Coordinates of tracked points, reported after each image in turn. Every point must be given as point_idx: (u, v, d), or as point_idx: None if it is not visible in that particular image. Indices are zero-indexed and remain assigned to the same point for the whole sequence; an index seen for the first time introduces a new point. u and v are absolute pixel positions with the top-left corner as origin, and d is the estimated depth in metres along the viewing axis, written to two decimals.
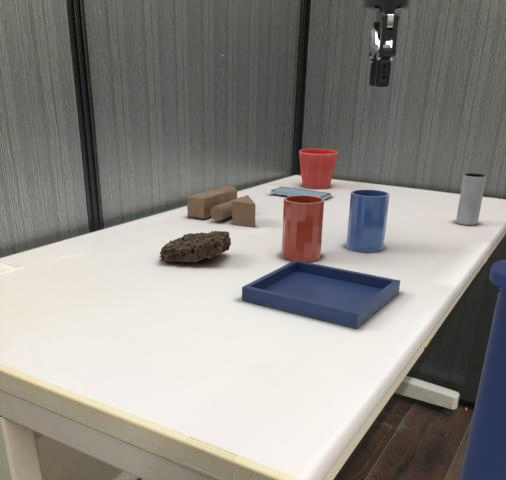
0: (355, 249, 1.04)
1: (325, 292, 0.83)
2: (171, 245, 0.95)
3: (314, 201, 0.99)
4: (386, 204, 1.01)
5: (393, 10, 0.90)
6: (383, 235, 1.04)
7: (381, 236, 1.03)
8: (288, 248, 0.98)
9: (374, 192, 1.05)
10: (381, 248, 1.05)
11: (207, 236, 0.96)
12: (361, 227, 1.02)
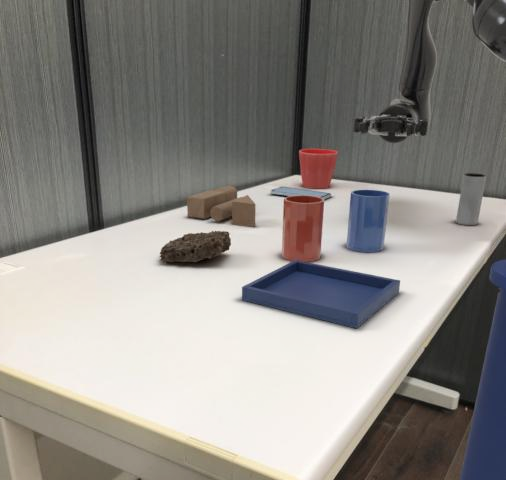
0: (355, 249, 1.04)
1: (325, 292, 0.83)
2: (171, 245, 0.95)
3: (314, 201, 0.99)
4: (386, 204, 1.01)
5: None
6: (383, 235, 1.04)
7: (381, 236, 1.03)
8: (288, 248, 0.98)
9: (374, 192, 1.05)
10: (381, 248, 1.05)
11: (207, 236, 0.96)
12: (361, 227, 1.02)
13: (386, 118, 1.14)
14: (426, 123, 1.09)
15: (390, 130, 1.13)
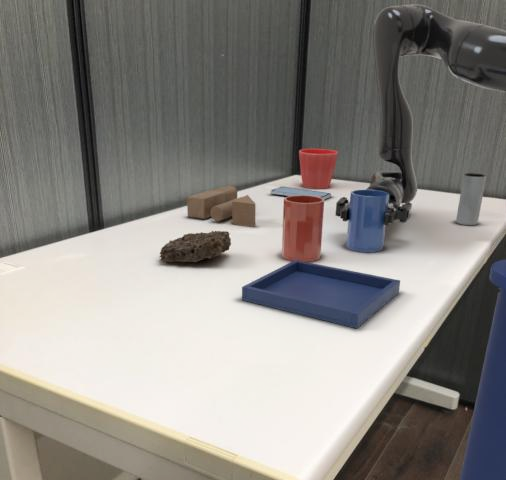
0: (355, 249, 1.04)
1: (325, 292, 0.83)
2: (171, 245, 0.95)
3: (314, 201, 0.99)
4: (386, 204, 1.01)
5: None
6: (383, 235, 1.04)
7: (381, 236, 1.03)
8: (288, 248, 0.98)
9: (374, 192, 1.05)
10: (381, 248, 1.05)
11: (207, 236, 0.96)
12: (361, 227, 1.02)
13: None
14: (405, 210, 1.04)
15: None
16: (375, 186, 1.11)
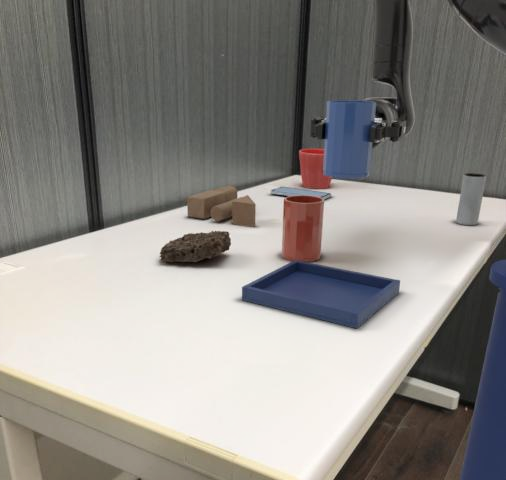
0: (333, 175, 0.82)
1: (325, 292, 0.83)
2: (171, 245, 0.95)
3: (314, 201, 0.99)
4: (372, 114, 0.79)
5: None
6: (369, 157, 0.81)
7: (366, 157, 0.81)
8: (288, 248, 0.98)
9: None
10: (366, 174, 0.82)
11: (207, 236, 0.96)
12: (340, 145, 0.80)
13: None
14: (397, 125, 0.81)
15: None
16: None
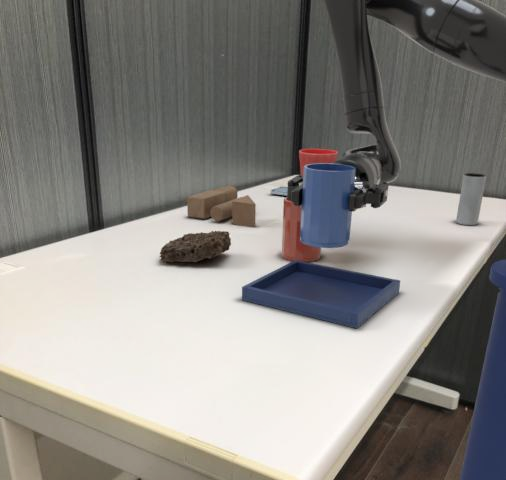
0: (310, 244, 0.77)
1: (325, 292, 0.83)
2: (171, 245, 0.95)
3: None
4: (351, 182, 0.74)
5: None
6: (348, 225, 0.77)
7: (345, 226, 0.76)
8: (288, 248, 0.98)
9: (337, 167, 0.78)
10: (346, 242, 0.77)
11: (207, 236, 0.96)
12: (317, 214, 0.75)
13: None
14: (378, 191, 0.76)
15: None
16: (341, 160, 0.84)
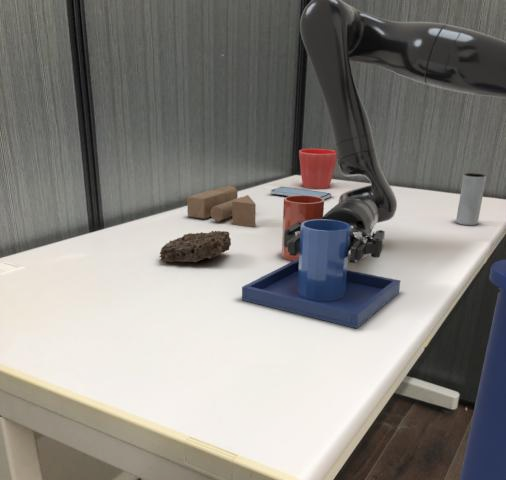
0: (307, 297, 0.80)
1: None
2: (171, 245, 0.95)
3: (314, 201, 0.99)
4: (346, 240, 0.77)
5: None
6: (344, 279, 0.80)
7: (341, 281, 0.79)
8: None
9: (333, 223, 0.81)
10: (341, 296, 0.81)
11: (207, 236, 0.96)
12: (313, 270, 0.78)
13: None
14: (378, 242, 0.79)
15: None
16: (338, 209, 0.87)
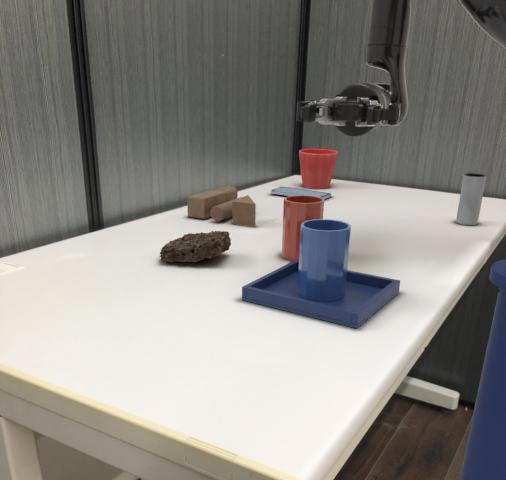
0: (307, 297, 0.80)
1: None
2: (171, 245, 0.95)
3: (314, 201, 0.99)
4: (346, 240, 0.77)
5: None
6: (344, 279, 0.80)
7: (341, 281, 0.79)
8: (288, 248, 0.98)
9: (333, 223, 0.81)
10: (341, 296, 0.81)
11: (207, 236, 0.96)
12: (313, 270, 0.78)
13: (342, 101, 0.82)
14: (396, 107, 0.77)
15: (347, 118, 0.81)
16: (352, 84, 0.84)
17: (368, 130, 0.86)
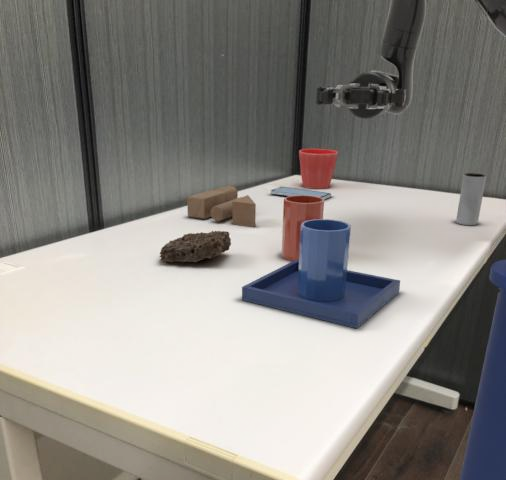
0: (307, 297, 0.80)
1: None
2: (171, 245, 0.95)
3: (314, 201, 0.99)
4: (346, 240, 0.77)
5: None
6: (344, 279, 0.80)
7: (341, 281, 0.79)
8: (288, 248, 0.98)
9: (333, 223, 0.81)
10: (341, 296, 0.81)
11: (207, 236, 0.96)
12: (313, 270, 0.78)
13: (355, 87, 0.95)
14: (402, 91, 0.90)
15: (360, 102, 0.94)
16: (364, 73, 0.97)
17: (377, 113, 0.99)
